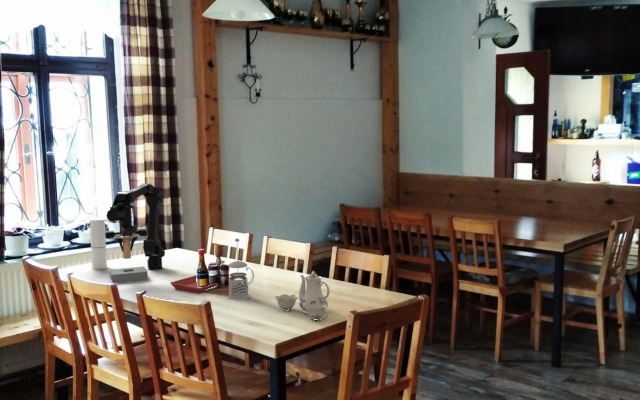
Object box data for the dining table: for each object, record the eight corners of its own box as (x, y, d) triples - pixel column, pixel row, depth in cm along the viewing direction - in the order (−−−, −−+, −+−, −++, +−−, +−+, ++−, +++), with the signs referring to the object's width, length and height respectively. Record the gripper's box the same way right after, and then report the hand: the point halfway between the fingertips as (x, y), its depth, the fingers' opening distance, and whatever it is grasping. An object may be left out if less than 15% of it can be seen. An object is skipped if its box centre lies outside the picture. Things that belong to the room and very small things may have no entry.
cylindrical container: (109, 266, 347) (106, 218, 344) (103, 269, 339) (101, 220, 337) (95, 265, 347) (93, 218, 344) (89, 268, 340) (87, 220, 337)
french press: (224, 295, 286) (222, 237, 283) (250, 292, 290) (249, 235, 287) (229, 301, 277) (228, 241, 274) (257, 298, 281) (255, 239, 278)
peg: (130, 257, 319) (129, 236, 318) (131, 258, 316) (130, 237, 315) (123, 257, 318) (122, 236, 317) (123, 258, 315) (122, 237, 314)
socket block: (144, 274, 326) (144, 266, 326) (147, 279, 315) (147, 271, 315) (110, 277, 320) (109, 269, 320) (112, 283, 309) (111, 274, 309)
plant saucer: (227, 286, 303) (227, 279, 302) (199, 295, 288) (199, 287, 287) (197, 281, 313) (197, 274, 312) (169, 290, 298) (169, 282, 297)
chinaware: (268, 314, 263) (264, 274, 260) (298, 301, 275) (295, 262, 272) (319, 329, 244) (315, 285, 241) (350, 315, 255) (346, 273, 252)
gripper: (105, 222, 304) (107, 256, 306) (148, 219, 311) (149, 253, 312) (104, 219, 314) (105, 252, 316) (145, 216, 321) (146, 248, 323)
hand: (126, 251), depth 317 cm, fingers closed on peg, 3 cm apart
